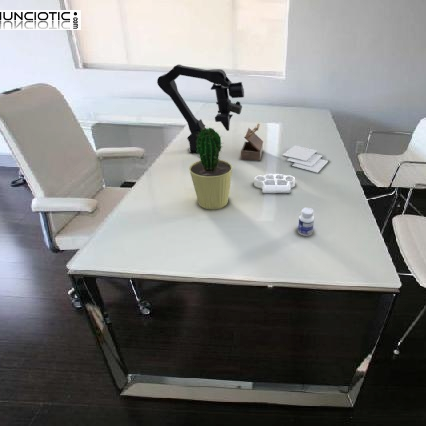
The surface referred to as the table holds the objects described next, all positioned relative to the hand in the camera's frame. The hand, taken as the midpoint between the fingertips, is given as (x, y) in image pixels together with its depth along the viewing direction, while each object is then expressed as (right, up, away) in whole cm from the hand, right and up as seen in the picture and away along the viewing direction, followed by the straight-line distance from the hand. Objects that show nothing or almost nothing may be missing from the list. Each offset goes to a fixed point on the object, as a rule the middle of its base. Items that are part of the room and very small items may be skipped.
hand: (227, 130), depth 158 cm
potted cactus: (+1, -37, -35) cm, 51 cm away
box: (+11, -11, +6) cm, 17 cm away
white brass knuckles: (+25, -30, -21) cm, 44 cm away
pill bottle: (+36, -49, -47) cm, 77 cm away
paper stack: (+39, -13, +7) cm, 42 cm away
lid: (+13, -4, +2) cm, 14 cm away
